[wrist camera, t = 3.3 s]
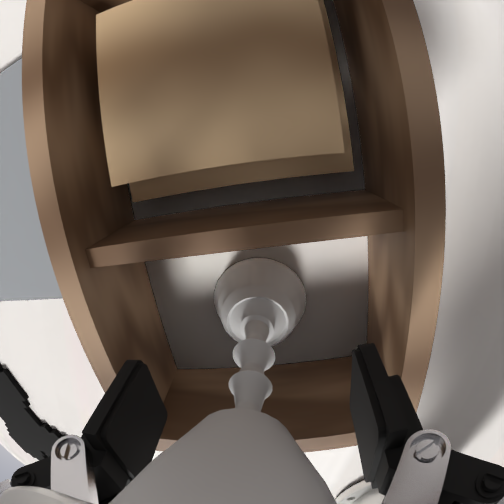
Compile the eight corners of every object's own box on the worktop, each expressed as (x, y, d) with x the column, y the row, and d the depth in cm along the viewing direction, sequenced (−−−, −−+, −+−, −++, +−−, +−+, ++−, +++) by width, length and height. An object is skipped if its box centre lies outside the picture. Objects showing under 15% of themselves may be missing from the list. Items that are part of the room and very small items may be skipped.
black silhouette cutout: (133, 492, 28) (-32, 291, 20) (131, 498, 27) (-38, 295, 19) (63, 482, 31) (-64, 324, 23) (61, 486, 30) (-68, 327, 22)
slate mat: (95, 291, 18) (89, 296, 17) (-6, 297, 19) (-12, 301, 18) (55, 44, 13) (47, 41, 12) (-42, 113, 14) (-48, 113, 13)
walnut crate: (382, 365, 18) (409, 433, 12) (165, 382, 19) (137, 448, 14) (341, -40, 10) (365, -102, 5) (91, 10, 12) (30, -23, 6)
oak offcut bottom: (342, 167, 15) (354, 171, 12) (152, 194, 16) (132, 202, 14) (310, -7, 12) (315, -29, 9) (130, 28, 13) (110, 14, 11)
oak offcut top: (333, 152, 12) (344, 152, 10) (132, 181, 13) (111, 187, 11) (305, -11, 10) (309, -32, 8) (116, 27, 11) (96, 14, 9)
